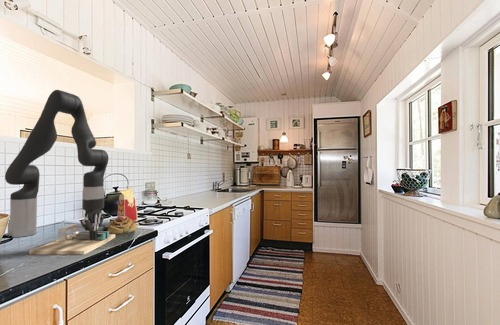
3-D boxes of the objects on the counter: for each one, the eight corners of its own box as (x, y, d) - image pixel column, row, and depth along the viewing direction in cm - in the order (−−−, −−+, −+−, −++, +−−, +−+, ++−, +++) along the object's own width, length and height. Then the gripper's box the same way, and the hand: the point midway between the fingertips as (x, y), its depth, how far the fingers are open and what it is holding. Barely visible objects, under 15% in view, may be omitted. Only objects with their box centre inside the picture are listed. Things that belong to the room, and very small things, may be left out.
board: (29, 254, 88) (29, 250, 89) (71, 237, 109) (71, 234, 110) (84, 254, 89) (84, 250, 89) (115, 237, 110) (115, 234, 110)
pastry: (104, 236, 112) (104, 219, 112) (110, 228, 126) (110, 213, 126) (136, 233, 117) (136, 217, 117) (137, 226, 131) (137, 211, 131)
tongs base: (70, 239, 102) (70, 232, 102) (75, 237, 105) (75, 230, 105) (105, 239, 102) (105, 232, 102) (109, 237, 105) (109, 230, 105)
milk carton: (131, 218, 148) (131, 186, 148) (138, 221, 142) (138, 187, 142) (115, 221, 141) (115, 187, 141) (122, 224, 135) (122, 188, 135)
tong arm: (75, 239, 101) (75, 233, 101) (78, 238, 103) (78, 232, 103) (103, 239, 101) (103, 234, 101) (105, 238, 102) (105, 233, 102)
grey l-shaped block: (58, 240, 99) (58, 228, 99) (70, 235, 107) (71, 224, 107) (65, 240, 99) (65, 228, 100) (77, 235, 107) (77, 224, 107)
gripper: (94, 195, 106) (94, 235, 106) (72, 199, 93) (72, 244, 92) (111, 195, 106) (111, 234, 106) (92, 199, 93) (92, 244, 92)
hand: (93, 239), depth 99 cm, fingers closed
